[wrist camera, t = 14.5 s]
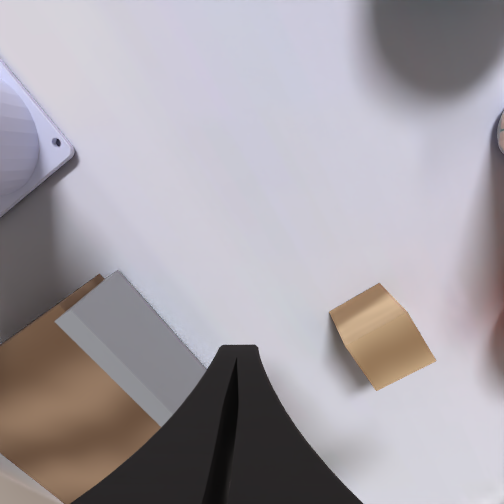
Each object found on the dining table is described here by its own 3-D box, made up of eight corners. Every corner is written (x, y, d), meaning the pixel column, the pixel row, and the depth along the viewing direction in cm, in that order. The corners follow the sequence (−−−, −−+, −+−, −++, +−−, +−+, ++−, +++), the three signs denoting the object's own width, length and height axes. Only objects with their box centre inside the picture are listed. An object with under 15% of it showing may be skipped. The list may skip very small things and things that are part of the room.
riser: (328, 311, 21) (344, 345, 18) (379, 282, 21) (407, 311, 17) (355, 350, 22) (376, 391, 19) (404, 324, 22) (436, 361, 18)
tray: (5, 350, 23) (-71, 409, 17) (118, 269, 20) (70, 309, 15) (129, 462, 26) (98, 540, 21) (237, 404, 24) (232, 474, 19)
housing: (-10, 351, 23) (-71, 397, 19) (99, 273, 21) (59, 304, 16) (123, 469, 27) (98, 530, 22) (227, 414, 24) (221, 469, 20)
